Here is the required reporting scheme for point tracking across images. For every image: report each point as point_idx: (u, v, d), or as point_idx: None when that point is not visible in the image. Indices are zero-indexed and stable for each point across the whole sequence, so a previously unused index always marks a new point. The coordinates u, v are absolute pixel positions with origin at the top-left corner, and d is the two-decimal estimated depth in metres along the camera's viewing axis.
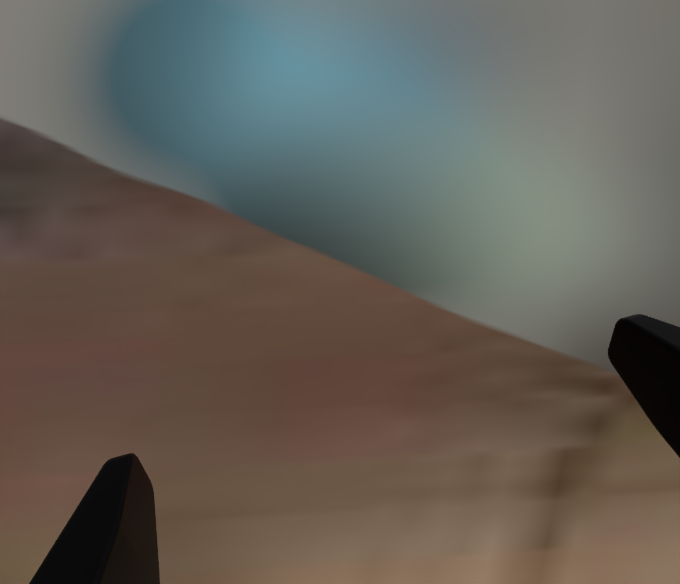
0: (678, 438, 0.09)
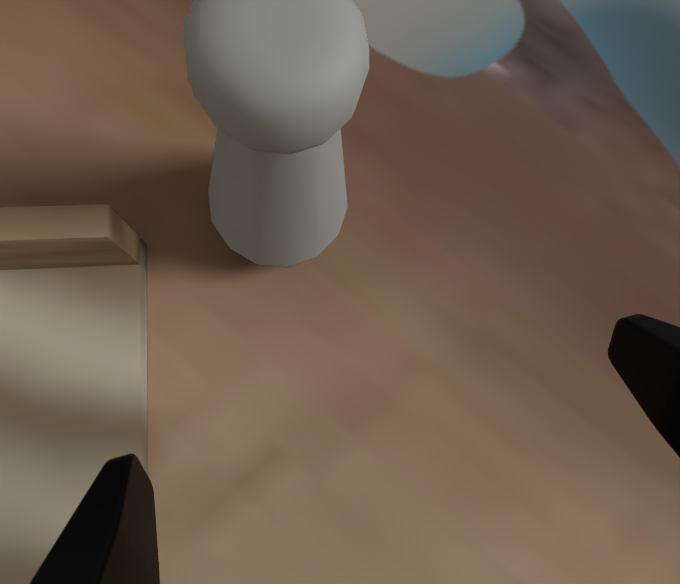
0: (678, 438, 0.09)
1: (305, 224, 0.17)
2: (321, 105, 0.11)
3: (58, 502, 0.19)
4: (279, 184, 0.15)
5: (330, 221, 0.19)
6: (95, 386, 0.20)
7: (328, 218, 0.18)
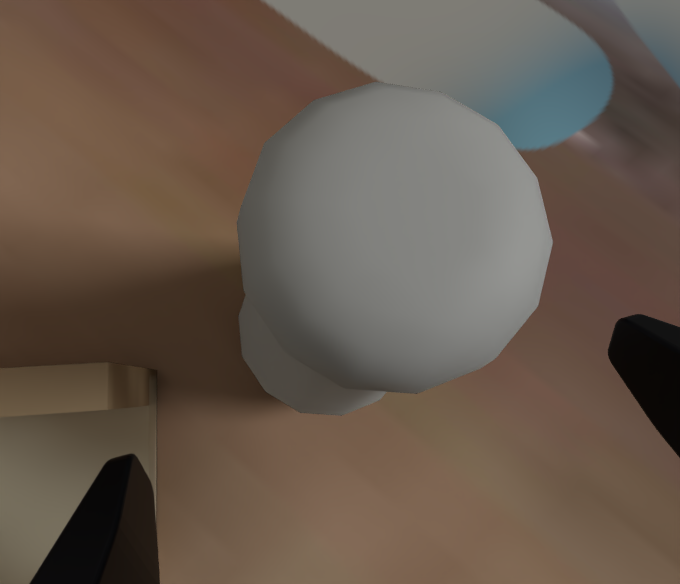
0: (678, 438, 0.08)
1: None
2: (483, 356, 0.06)
3: None
4: None
5: None
6: None
7: None
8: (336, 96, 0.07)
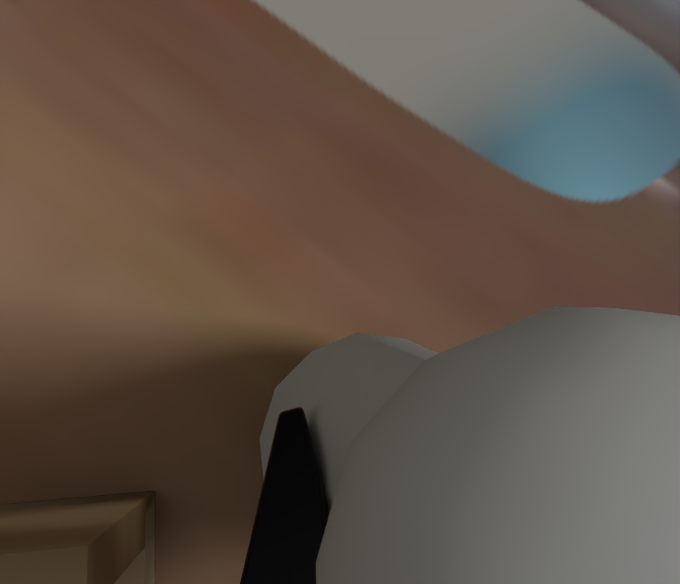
0: None
1: None
2: None
3: None
4: None
5: None
6: None
7: None
8: (540, 356, 0.03)
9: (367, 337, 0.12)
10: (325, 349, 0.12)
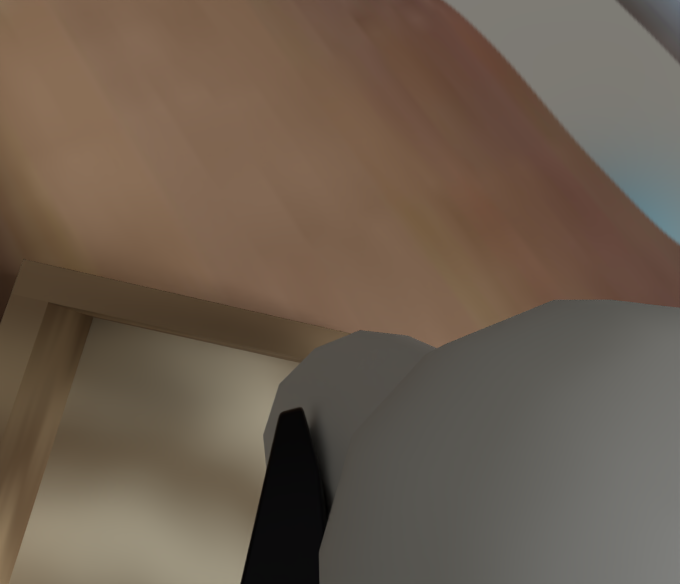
0: None
1: None
2: None
3: None
4: None
5: None
6: None
7: None
8: (541, 347, 0.03)
9: (370, 334, 0.12)
10: (328, 346, 0.12)
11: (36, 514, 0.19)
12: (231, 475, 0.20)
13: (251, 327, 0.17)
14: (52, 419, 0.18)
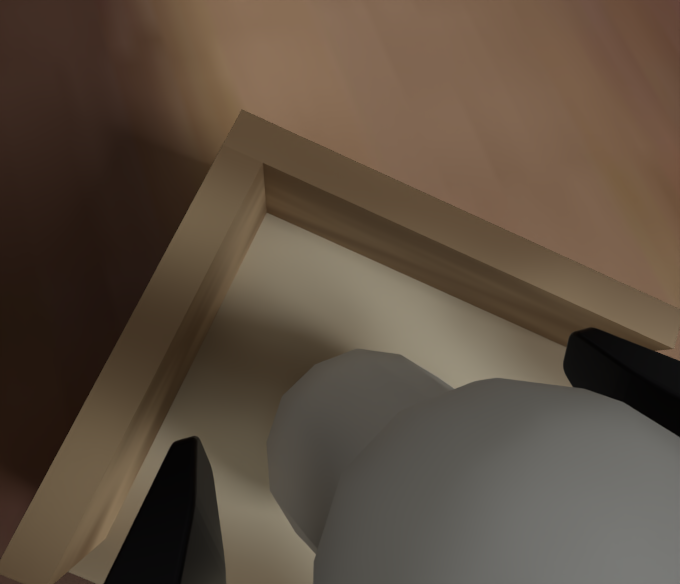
0: None
1: None
2: None
3: None
4: None
5: None
6: None
7: None
8: (474, 427, 0.04)
9: (365, 355, 0.13)
10: (328, 363, 0.14)
11: (172, 418, 0.16)
12: None
13: (486, 239, 0.14)
14: (212, 312, 0.16)
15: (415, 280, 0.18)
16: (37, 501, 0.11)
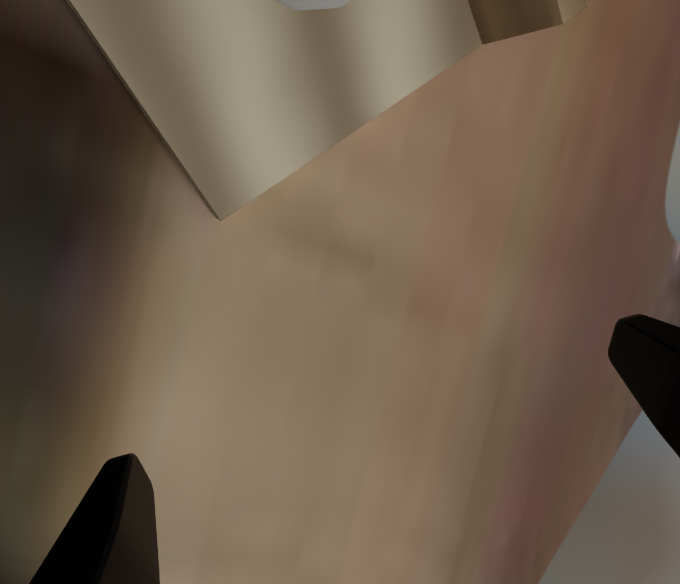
0: (678, 438, 0.09)
1: None
2: None
3: (255, 89, 0.17)
4: None
5: None
6: (369, 63, 0.18)
7: None
8: None
9: None
10: None
11: None
12: None
13: None
14: None
15: None
16: None
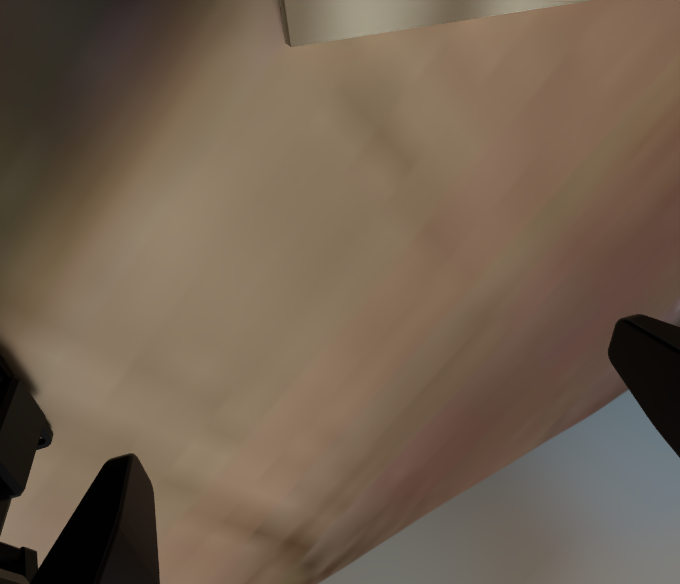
0: (678, 438, 0.09)
1: None
2: None
3: None
4: None
5: None
6: None
7: None
8: None
9: None
10: None
11: None
12: None
13: None
14: None
15: None
16: None
